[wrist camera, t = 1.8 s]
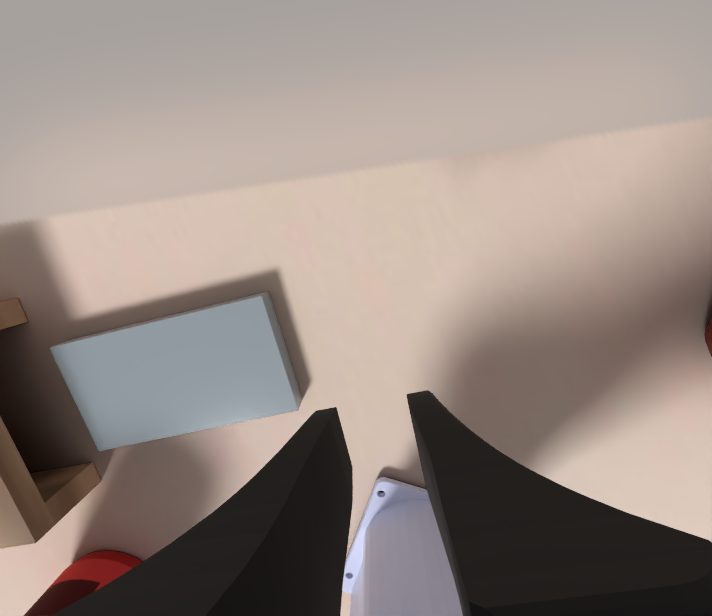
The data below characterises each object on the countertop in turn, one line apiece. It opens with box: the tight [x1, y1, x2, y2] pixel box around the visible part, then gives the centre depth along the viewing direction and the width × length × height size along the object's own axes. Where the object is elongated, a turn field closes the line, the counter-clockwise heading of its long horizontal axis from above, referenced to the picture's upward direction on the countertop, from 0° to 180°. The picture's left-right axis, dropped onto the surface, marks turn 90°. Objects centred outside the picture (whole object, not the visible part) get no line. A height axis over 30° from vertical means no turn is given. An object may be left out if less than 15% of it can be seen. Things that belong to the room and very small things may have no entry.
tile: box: [49, 291, 302, 451], centre depth 21 cm, size 13×7×2 cm, turn 104°
